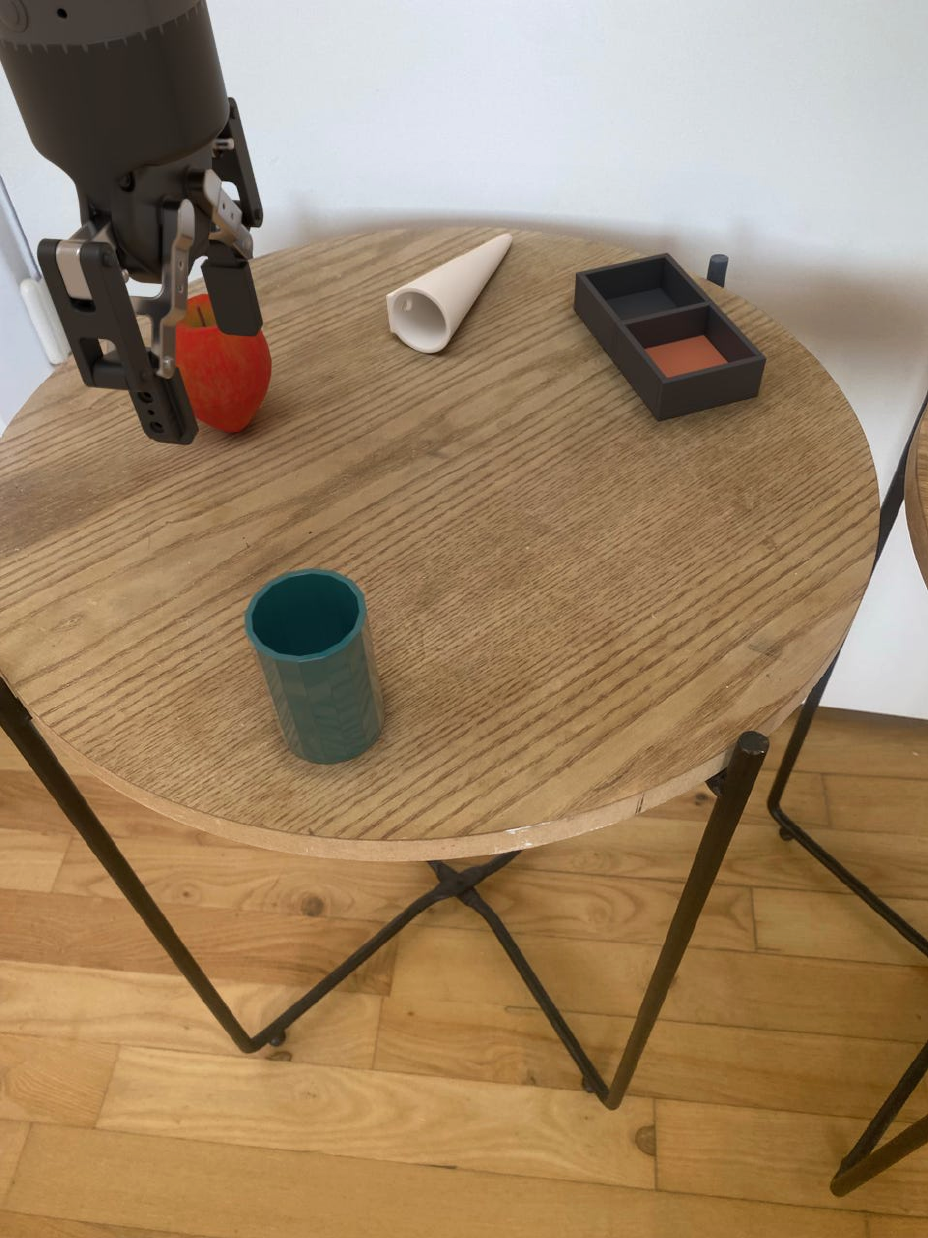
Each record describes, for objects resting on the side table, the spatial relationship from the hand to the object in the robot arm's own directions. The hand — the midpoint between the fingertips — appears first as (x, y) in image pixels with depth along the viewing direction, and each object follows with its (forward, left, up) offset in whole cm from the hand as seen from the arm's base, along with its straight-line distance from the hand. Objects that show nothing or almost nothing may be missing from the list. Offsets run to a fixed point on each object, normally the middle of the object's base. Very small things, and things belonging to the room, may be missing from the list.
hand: (211, 381), depth 46 cm
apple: (+12, -21, -21) cm, 32 cm away
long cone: (-4, -42, -21) cm, 48 cm away
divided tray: (-21, -36, -21) cm, 47 cm away
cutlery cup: (-4, +5, -21) cm, 22 cm away
